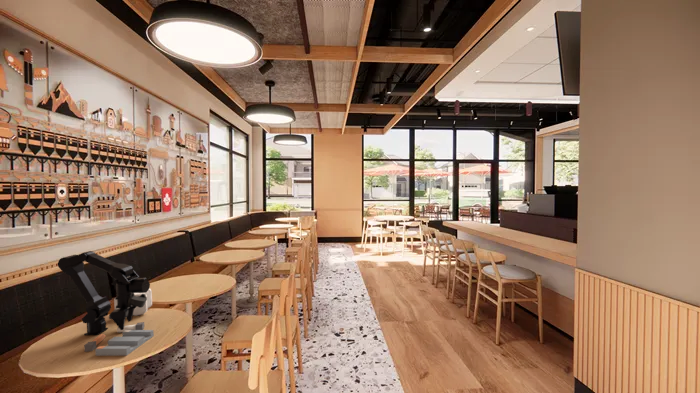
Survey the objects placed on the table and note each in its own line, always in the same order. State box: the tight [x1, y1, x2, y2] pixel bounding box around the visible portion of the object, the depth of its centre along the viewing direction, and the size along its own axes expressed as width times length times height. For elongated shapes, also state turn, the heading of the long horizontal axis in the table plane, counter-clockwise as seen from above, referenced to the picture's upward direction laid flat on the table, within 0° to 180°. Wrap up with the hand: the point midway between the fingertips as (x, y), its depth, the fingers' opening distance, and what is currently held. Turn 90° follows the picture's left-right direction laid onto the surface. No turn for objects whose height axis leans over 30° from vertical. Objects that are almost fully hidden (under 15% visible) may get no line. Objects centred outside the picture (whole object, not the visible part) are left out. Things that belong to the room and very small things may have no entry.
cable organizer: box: [113, 288, 153, 316], centre depth 166 cm, size 15×11×12 cm
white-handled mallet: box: [116, 321, 145, 334], centre depth 145 cm, size 10×3×3 cm, turn 108°
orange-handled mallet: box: [83, 333, 107, 352], centre depth 132 cm, size 10×3×3 cm, turn 13°
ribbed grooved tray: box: [94, 329, 154, 357], centre depth 131 cm, size 13×16×3 cm
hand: (126, 325), depth 144 cm, fingers open, 9 cm apart
